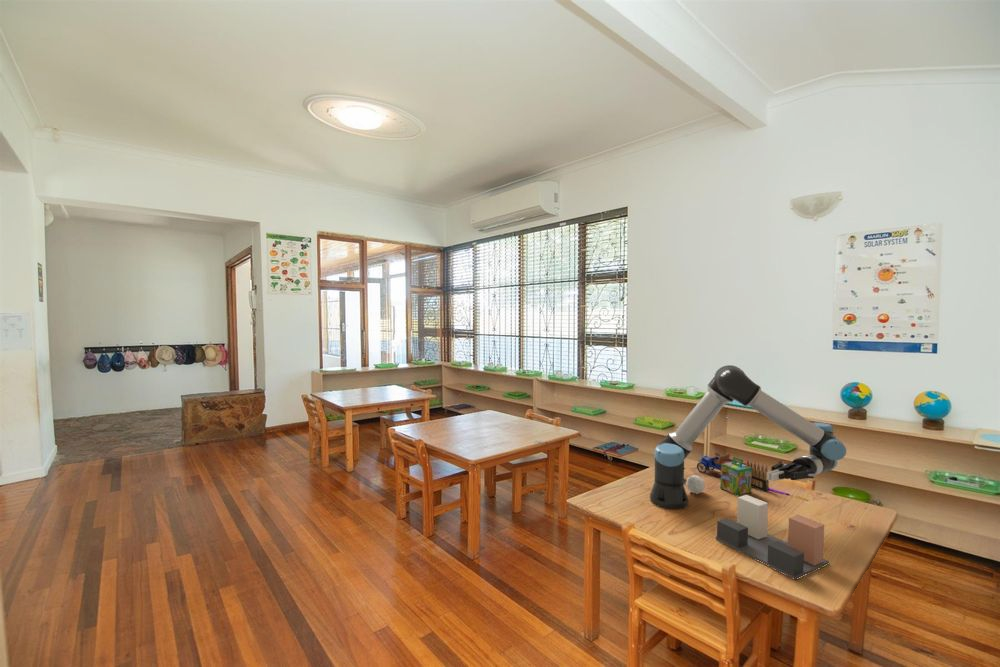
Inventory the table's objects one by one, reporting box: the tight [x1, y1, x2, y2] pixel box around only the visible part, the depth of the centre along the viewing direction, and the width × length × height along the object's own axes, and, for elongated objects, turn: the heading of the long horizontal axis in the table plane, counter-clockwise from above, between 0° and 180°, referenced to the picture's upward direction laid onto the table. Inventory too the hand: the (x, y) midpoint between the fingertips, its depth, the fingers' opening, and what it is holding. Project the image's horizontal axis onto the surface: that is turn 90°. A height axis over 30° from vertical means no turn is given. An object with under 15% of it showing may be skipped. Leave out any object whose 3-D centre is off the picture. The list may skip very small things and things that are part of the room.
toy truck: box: [696, 452, 750, 475], centre depth 217 cm, size 8×25×11 cm, turn 32°
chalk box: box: [719, 456, 752, 496], centre depth 200 cm, size 9×9×15 cm
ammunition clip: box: [745, 458, 770, 493], centre depth 203 cm, size 11×2×12 cm, turn 26°
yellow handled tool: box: [768, 487, 807, 500], centre depth 196 cm, size 3×1×16 cm
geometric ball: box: [685, 474, 706, 495], centre depth 198 cm, size 8×8×8 cm
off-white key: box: [736, 494, 769, 539], centre depth 159 cm, size 5×8×12 cm, turn 27°
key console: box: [715, 517, 830, 580], centre depth 150 cm, size 18×27×7 cm
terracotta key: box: [787, 514, 825, 566], centre depth 143 cm, size 5×8×12 cm, turn 27°
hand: (769, 476), depth 163 cm, fingers closed
